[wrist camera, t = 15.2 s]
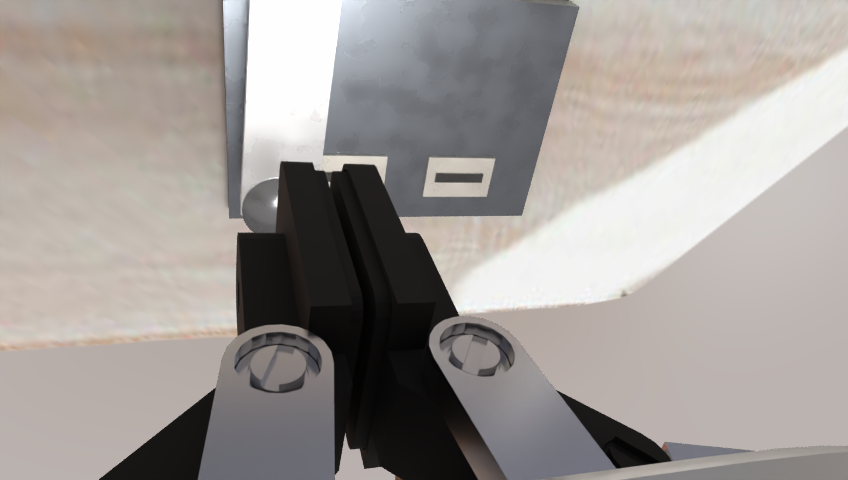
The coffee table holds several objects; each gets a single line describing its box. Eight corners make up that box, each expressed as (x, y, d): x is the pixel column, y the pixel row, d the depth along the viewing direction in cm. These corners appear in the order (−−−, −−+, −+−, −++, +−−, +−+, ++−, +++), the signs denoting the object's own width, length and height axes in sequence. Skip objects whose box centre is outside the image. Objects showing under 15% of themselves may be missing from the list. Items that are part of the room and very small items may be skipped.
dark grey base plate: (229, 206, 44) (229, 236, 41) (222, -35, 35) (222, -19, 32) (514, 205, 50) (532, 231, 48) (569, 0, 42) (594, 16, 39)
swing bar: (309, 222, 42) (312, 240, 40) (239, 219, 41) (239, 239, 39) (349, -130, 31) (356, -125, 29) (255, -150, 29) (257, -146, 28)
